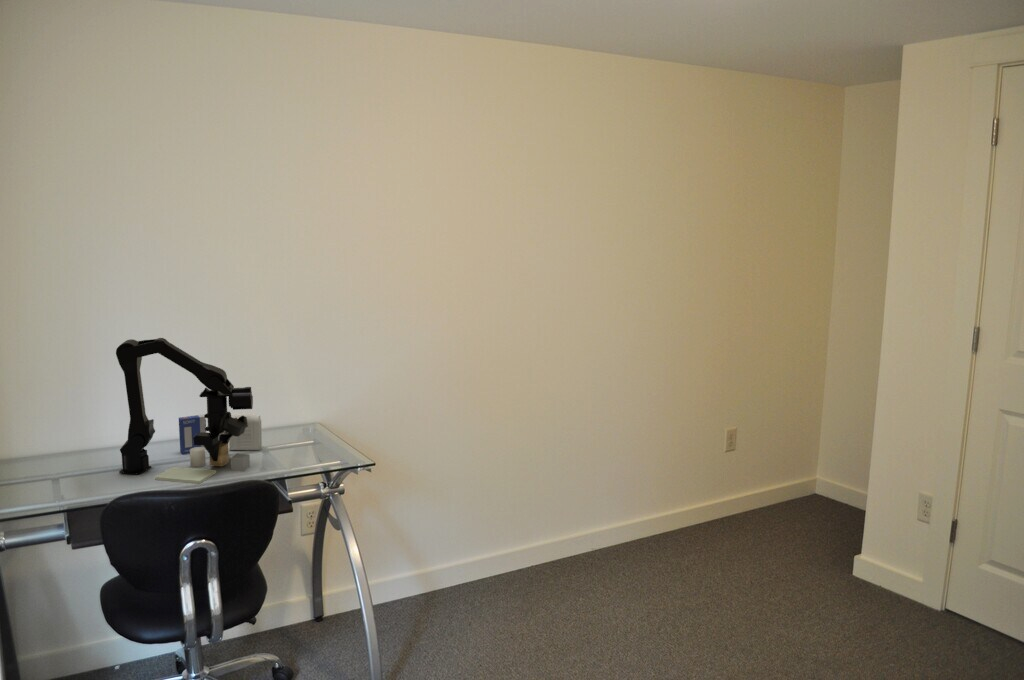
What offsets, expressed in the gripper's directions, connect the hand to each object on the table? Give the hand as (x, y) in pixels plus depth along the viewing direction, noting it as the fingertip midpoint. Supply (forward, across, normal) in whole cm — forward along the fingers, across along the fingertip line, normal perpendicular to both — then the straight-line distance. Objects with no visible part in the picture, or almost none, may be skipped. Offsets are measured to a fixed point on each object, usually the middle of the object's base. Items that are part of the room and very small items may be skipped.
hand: (219, 458), depth 232 cm
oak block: (+2, 0, 0) cm, 2 cm away
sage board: (+2, -10, +5) cm, 11 cm away
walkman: (+3, +11, +15) cm, 19 cm away
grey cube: (+2, 0, -7) cm, 7 cm away
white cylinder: (+2, 0, +7) cm, 7 cm away
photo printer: (+3, +17, 0) cm, 17 cm away
